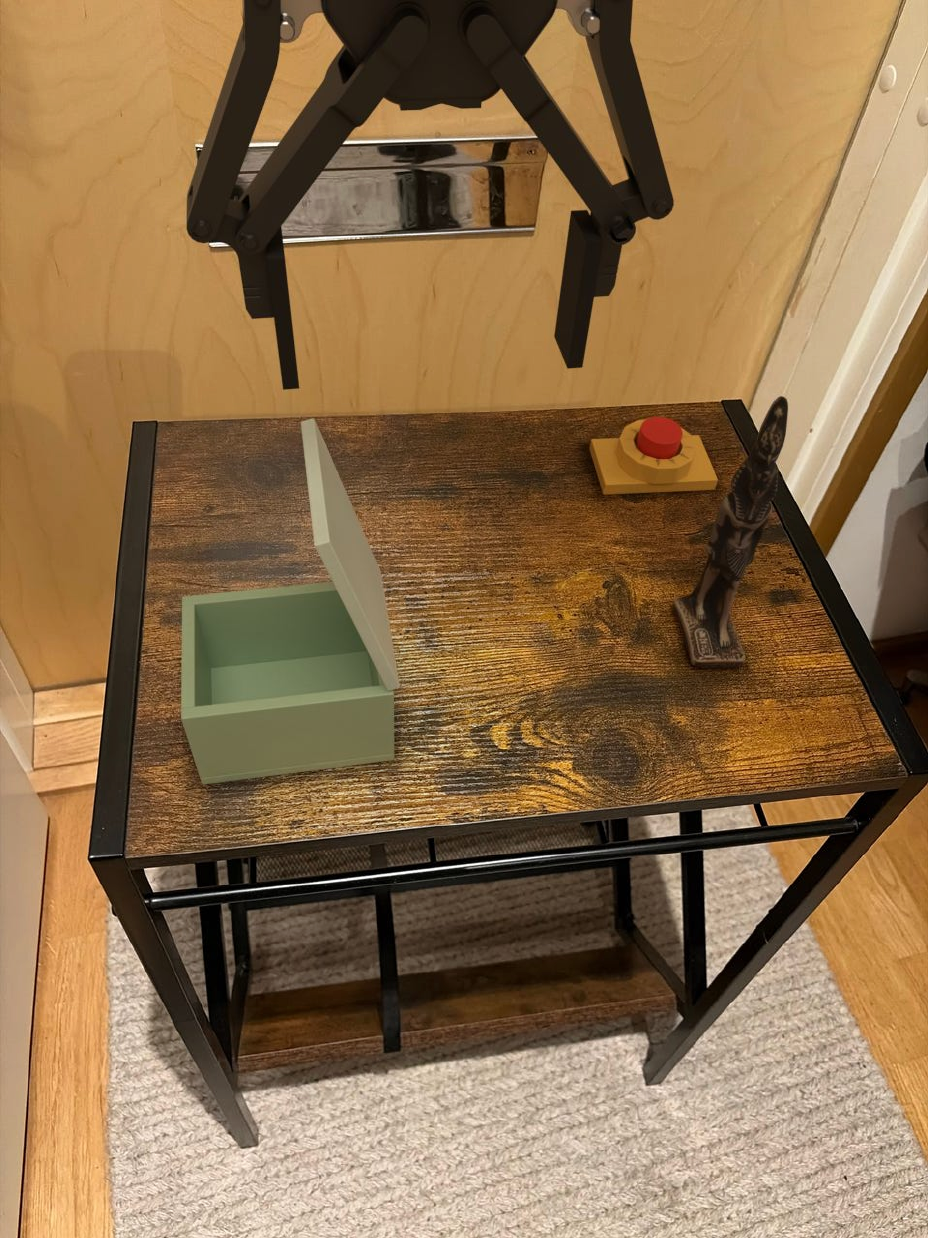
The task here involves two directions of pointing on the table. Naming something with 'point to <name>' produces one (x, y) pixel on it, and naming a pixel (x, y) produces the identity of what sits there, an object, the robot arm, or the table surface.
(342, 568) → the hatch lid
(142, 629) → the table surface
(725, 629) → the statue
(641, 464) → the button block
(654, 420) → the button
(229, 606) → the hatch box
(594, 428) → the table surface
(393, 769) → the table surface
